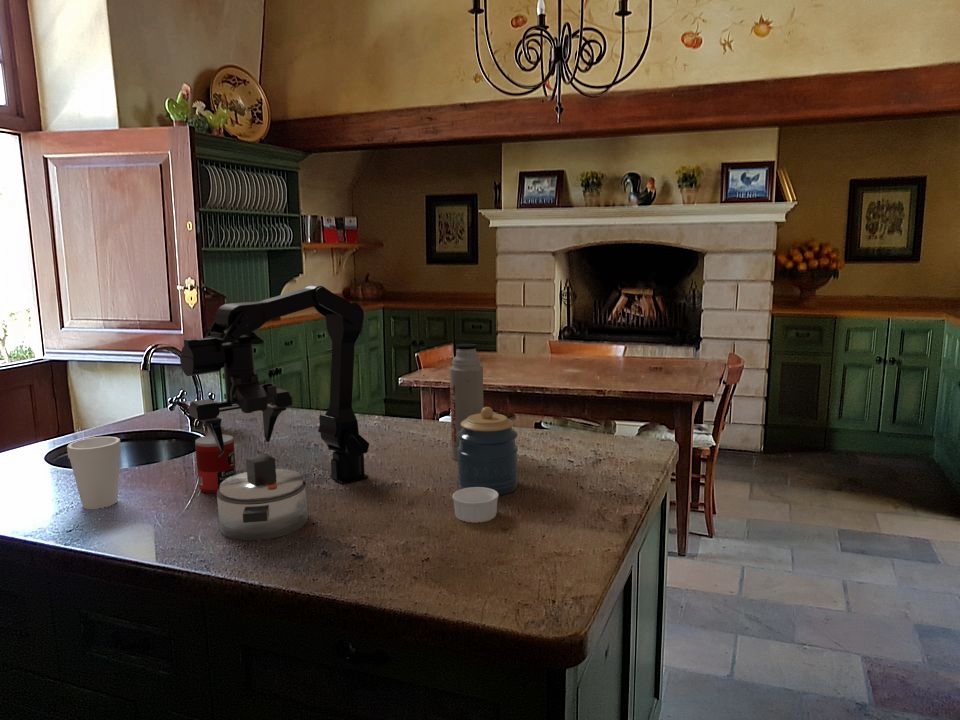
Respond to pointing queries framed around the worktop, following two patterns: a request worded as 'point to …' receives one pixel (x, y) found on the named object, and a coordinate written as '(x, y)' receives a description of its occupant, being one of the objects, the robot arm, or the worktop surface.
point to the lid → (261, 481)
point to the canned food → (214, 462)
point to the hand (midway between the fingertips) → (245, 445)
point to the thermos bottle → (464, 389)
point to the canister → (487, 452)
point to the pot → (262, 516)
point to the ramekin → (475, 504)
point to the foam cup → (96, 470)
